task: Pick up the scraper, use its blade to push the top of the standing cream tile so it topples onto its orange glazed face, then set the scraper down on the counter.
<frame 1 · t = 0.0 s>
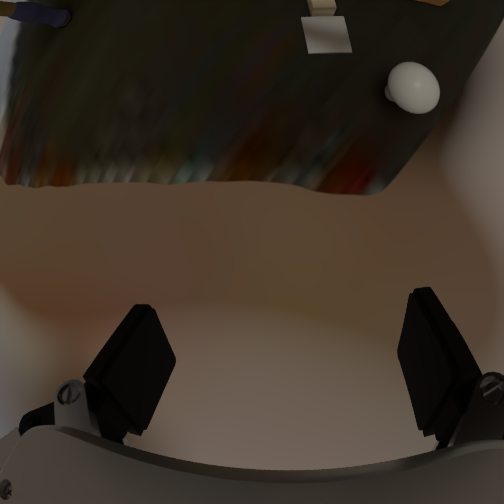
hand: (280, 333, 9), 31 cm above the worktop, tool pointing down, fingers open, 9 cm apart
lightbulb: (391, 93, 30), on the worktop
rubber mallet: (66, 20, 27), on the worktop
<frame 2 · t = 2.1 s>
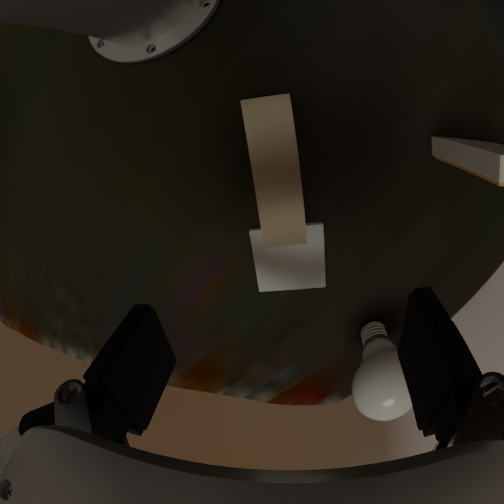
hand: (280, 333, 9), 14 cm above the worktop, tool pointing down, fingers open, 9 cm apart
lightbulb: (371, 325, 26), on the worktop
tile: (467, 148, 17), on the worktop
scraper: (278, 164, 20), on the worktop
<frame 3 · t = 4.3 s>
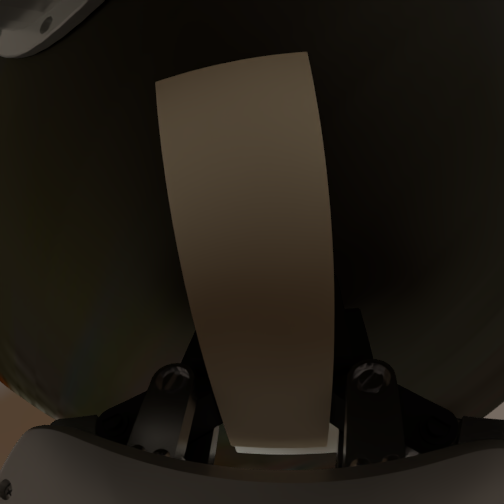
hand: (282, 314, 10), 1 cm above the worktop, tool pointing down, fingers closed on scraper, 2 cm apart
scraper: (275, 255, 9), point 1 cm above the worktop, tilted 9°, touching gripper
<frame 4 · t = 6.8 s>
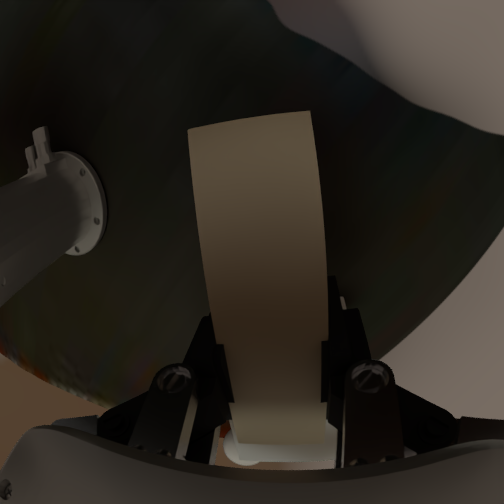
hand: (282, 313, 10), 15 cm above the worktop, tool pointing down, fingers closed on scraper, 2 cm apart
lightbulb: (253, 401, 38), on the worktop
scraper: (280, 276, 11), point 15 cm above the worktop, tilted 15°, touching gripper
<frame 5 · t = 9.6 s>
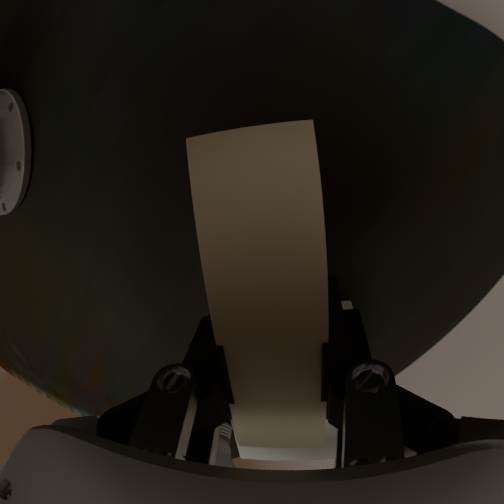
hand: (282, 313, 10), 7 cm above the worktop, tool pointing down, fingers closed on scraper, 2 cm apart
lightbulb: (222, 420, 28), on the worktop
scraper: (281, 281, 11), point 6 cm above the worktop, tilted 13°, touching gripper
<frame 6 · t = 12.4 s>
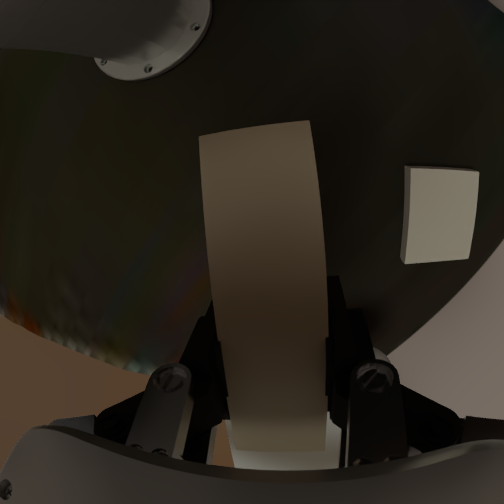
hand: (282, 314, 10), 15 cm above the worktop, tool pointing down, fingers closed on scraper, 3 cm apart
tile: (443, 168, 20), point 1 cm above the worktop, tilted 90°
scraper: (282, 286, 11), point 14 cm above the worktop, tilted 21°, touching gripper
when the fingers open (2 cm above the worktop, at t = 15.2 s): scraper drops 2 cm, on the worktop.
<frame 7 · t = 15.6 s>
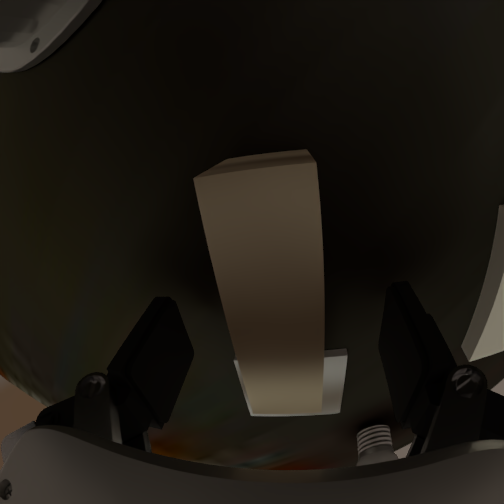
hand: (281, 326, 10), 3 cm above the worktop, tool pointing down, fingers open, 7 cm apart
lightbulb: (372, 423, 17), on the worktop
scraper: (282, 270, 12), on the worktop
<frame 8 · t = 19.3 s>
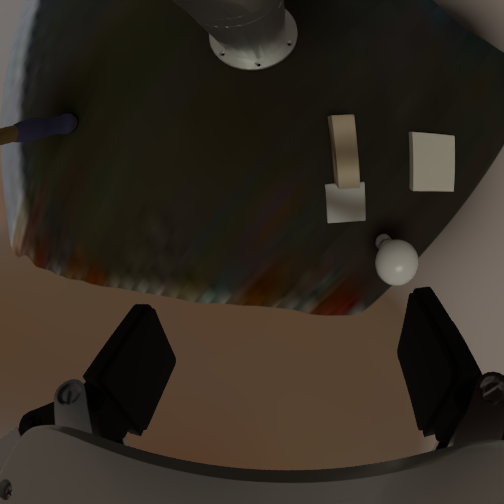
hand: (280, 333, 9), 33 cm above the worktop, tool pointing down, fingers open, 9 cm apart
lightbulb: (381, 239, 42), on the worktop
tile: (432, 133, 32), point 1 cm above the worktop, tilted 90°
scraper: (341, 149, 37), on the worktop
rubber mallet: (73, 122, 39), on the worktop
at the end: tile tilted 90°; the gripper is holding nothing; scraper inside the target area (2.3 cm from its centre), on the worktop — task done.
